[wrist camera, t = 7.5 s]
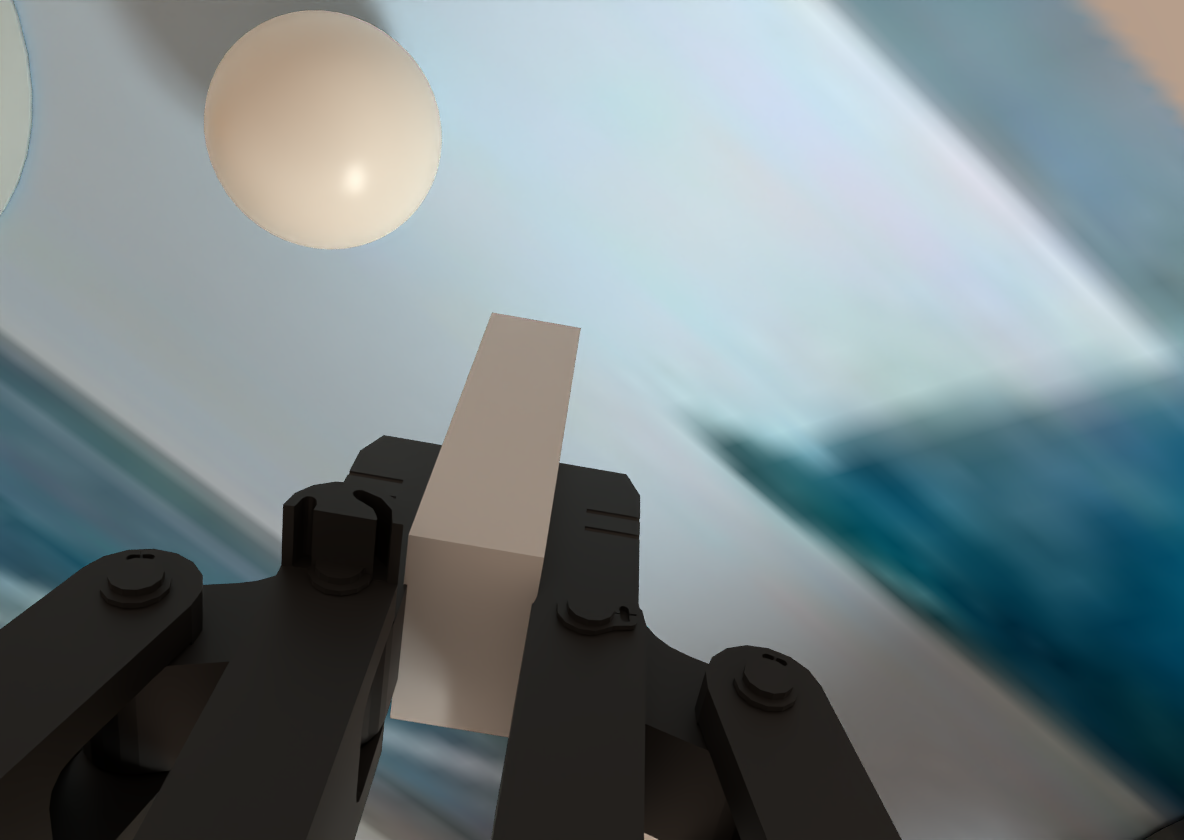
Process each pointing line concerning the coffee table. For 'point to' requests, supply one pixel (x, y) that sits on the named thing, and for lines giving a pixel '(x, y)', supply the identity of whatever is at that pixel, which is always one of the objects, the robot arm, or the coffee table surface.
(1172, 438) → the coffee table surface
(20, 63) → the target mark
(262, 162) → the cue ball
